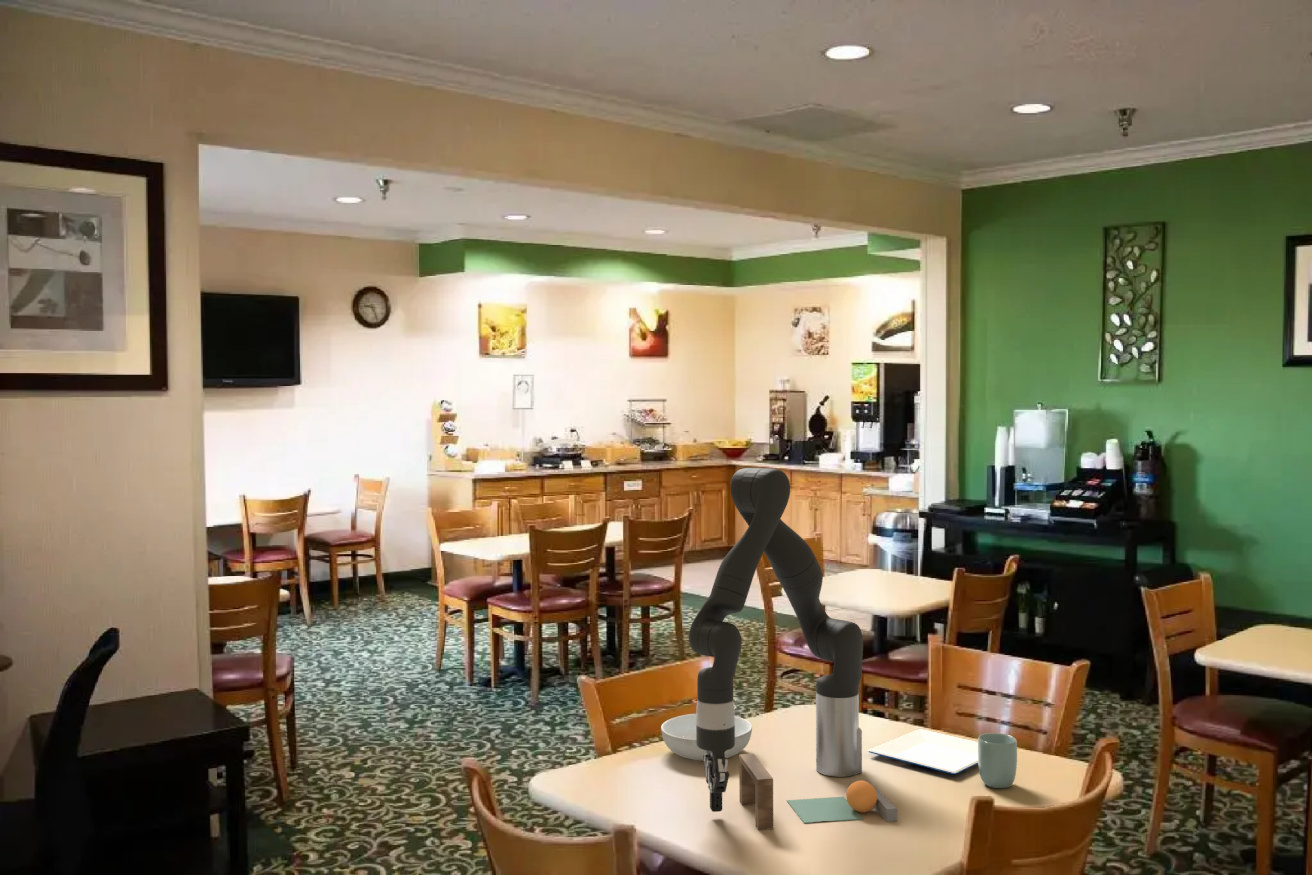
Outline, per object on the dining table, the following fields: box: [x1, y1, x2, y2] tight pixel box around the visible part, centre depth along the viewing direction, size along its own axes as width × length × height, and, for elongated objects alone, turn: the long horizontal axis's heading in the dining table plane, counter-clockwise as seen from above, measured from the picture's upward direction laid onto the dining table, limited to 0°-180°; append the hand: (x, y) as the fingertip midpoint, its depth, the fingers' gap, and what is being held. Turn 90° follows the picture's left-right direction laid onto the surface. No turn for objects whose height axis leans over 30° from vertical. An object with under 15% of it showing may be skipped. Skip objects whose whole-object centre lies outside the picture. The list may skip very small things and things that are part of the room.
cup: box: [977, 732, 1018, 789], centre depth 234 cm, size 8×8×10 cm
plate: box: [867, 728, 978, 775], centre depth 253 cm, size 22×22×2 cm
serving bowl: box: [660, 713, 753, 762], centre depth 255 cm, size 21×21×7 cm
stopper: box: [863, 779, 898, 823], centre depth 222 cm, size 2×16×2 cm, turn 9°
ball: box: [845, 780, 877, 813], centre depth 220 cm, size 6×6×6 cm
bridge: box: [738, 753, 774, 831], centre depth 218 cm, size 3×15×10 cm, turn 9°
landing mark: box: [786, 796, 865, 824], centre depth 220 cm, size 12×12×1 cm
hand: (716, 809), depth 217 cm, fingers closed
